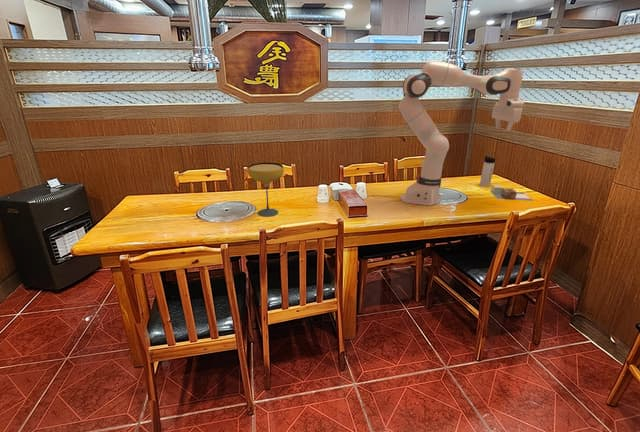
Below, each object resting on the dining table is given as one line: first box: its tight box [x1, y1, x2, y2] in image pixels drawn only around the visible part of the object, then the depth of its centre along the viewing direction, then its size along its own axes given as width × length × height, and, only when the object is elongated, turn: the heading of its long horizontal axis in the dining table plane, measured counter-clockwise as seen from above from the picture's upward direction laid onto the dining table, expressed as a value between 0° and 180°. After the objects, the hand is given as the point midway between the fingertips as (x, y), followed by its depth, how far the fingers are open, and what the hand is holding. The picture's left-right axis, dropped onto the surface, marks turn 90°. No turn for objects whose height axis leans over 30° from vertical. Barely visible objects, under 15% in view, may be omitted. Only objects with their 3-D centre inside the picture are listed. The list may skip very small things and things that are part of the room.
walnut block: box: [501, 188, 518, 200], centre depth 205 cm, size 6×6×4 cm
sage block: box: [490, 184, 504, 195], centre depth 213 cm, size 5×5×4 cm
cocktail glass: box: [247, 162, 285, 218], centre depth 178 cm, size 18×18×25 cm
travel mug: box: [479, 155, 496, 188], centre depth 224 cm, size 6×7×20 cm
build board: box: [489, 190, 534, 202], centre depth 209 cm, size 20×15×1 cm
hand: (502, 128), depth 184 cm, fingers open, 8 cm apart
